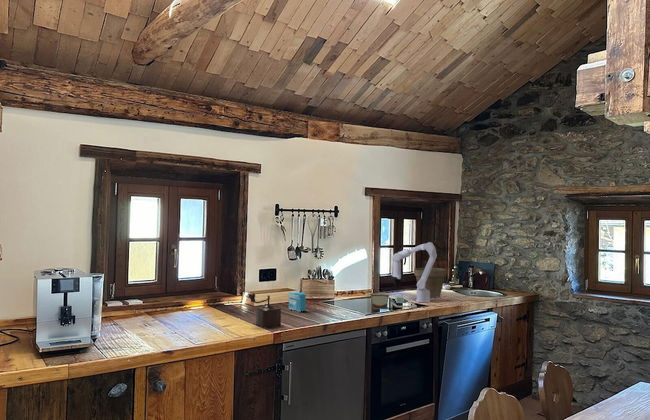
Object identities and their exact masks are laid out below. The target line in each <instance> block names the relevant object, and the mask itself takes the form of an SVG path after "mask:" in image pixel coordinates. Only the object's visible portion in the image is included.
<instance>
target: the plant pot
mask: <svg viewBox="0 0 650 420" xmlns="http://www.w3.org/2000/svg"><path fill="white" fill-rule="evenodd" d="M424 270H425V267H417V268H414V269H413V274H414V276H415V278H416V284H417V283H418V281H419V280H420V279H421V277H422V274H423V272H424ZM446 276H447V269H445V268H443V267H442V268H441V267H432V269H431V271H430V274H429V276H428V278H427V281H426V286H425V288H426V290H429V291H430V299H431V298H432V299H433V298H435V299H436V298H440V297H441V294H442V291H443V287H444V282H445V277H446Z"/></svg>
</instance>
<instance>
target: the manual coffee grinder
mask: <svg viewBox="0 0 650 420" xmlns="http://www.w3.org/2000/svg"><path fill="white" fill-rule="evenodd" d="M248 298H249V299H250V302H251V303H254V304H260V303H264V302H267V303H264V305H263V306H261V307H256V310H255V311H256V312H255V313H256V315H255V318H256V320H255V325H256V324H257V325H256V326H258V325H259V326H258V327H260V326H262V327H261V328H264V327H268V328H273V327H272V326H275V327H279V325H281V323H282V321H281V317H282V316H281V315H282V314H281V313H282V310H281V308H278V307H275V306H274V305H272V304H270V299H271V298H270V295H269V294H268V295H267V298H266V299H263V300H260V301H259V300H258V301H256V293H254V292H252V293H249V294H248ZM281 326H282V325H281Z"/></svg>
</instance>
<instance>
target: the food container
mask: <svg viewBox="0 0 650 420" xmlns="http://www.w3.org/2000/svg"><path fill="white" fill-rule="evenodd" d="M370 298H371V302H372V309H373V310H388V303H389V298H390V294H389V293H385V292H372V293H371V294H370Z"/></svg>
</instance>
